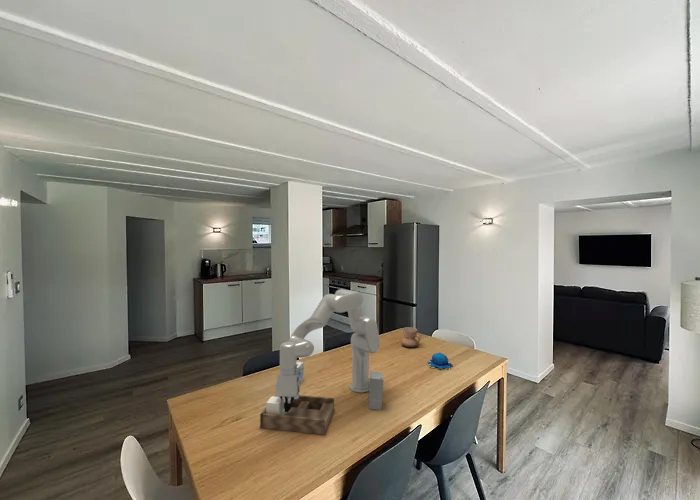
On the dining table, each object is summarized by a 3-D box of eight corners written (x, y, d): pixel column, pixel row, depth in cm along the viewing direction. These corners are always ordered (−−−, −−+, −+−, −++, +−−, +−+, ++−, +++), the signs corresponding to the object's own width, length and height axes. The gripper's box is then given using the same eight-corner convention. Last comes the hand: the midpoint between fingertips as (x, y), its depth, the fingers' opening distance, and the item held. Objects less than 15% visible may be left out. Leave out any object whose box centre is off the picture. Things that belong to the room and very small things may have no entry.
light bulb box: (297, 387, 168) (297, 368, 168) (286, 386, 169) (286, 367, 169) (303, 379, 178) (304, 361, 178) (293, 378, 179) (293, 360, 179)
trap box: (334, 410, 143) (334, 398, 144) (324, 434, 124) (324, 420, 124) (277, 405, 148) (277, 393, 148) (260, 427, 129) (260, 414, 129)
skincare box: (368, 401, 152) (368, 370, 153) (382, 401, 152) (382, 371, 152) (369, 410, 144) (369, 377, 144) (383, 410, 144) (383, 378, 144)
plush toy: (455, 364, 204) (455, 352, 204) (449, 372, 190) (449, 359, 190) (431, 359, 213) (431, 348, 213) (424, 367, 199) (424, 354, 199)
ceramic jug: (396, 345, 243) (396, 328, 243) (405, 341, 253) (406, 325, 253) (414, 351, 230) (414, 333, 230) (424, 347, 240) (424, 329, 240)
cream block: (283, 410, 136) (283, 397, 136) (278, 417, 130) (278, 403, 130) (271, 409, 137) (271, 396, 137) (266, 416, 131) (266, 402, 131)
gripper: (306, 368, 136) (305, 407, 136) (275, 365, 138) (275, 404, 138) (301, 374, 128) (300, 416, 128) (269, 372, 131) (268, 413, 130)
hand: (287, 410), depth 133 cm, fingers closed
